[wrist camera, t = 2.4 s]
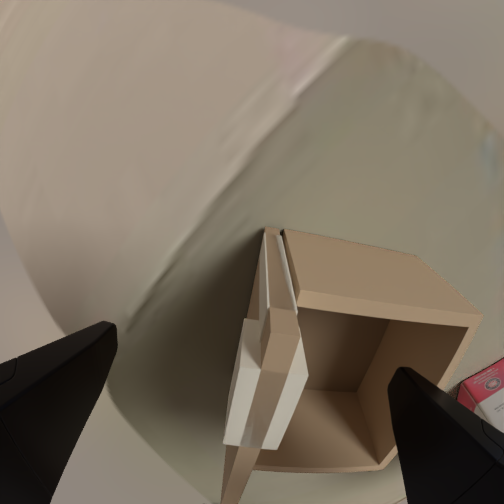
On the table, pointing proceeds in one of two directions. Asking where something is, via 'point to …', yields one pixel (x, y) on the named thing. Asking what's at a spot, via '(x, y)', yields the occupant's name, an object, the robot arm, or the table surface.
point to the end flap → (263, 369)
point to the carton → (362, 348)
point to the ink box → (486, 394)
